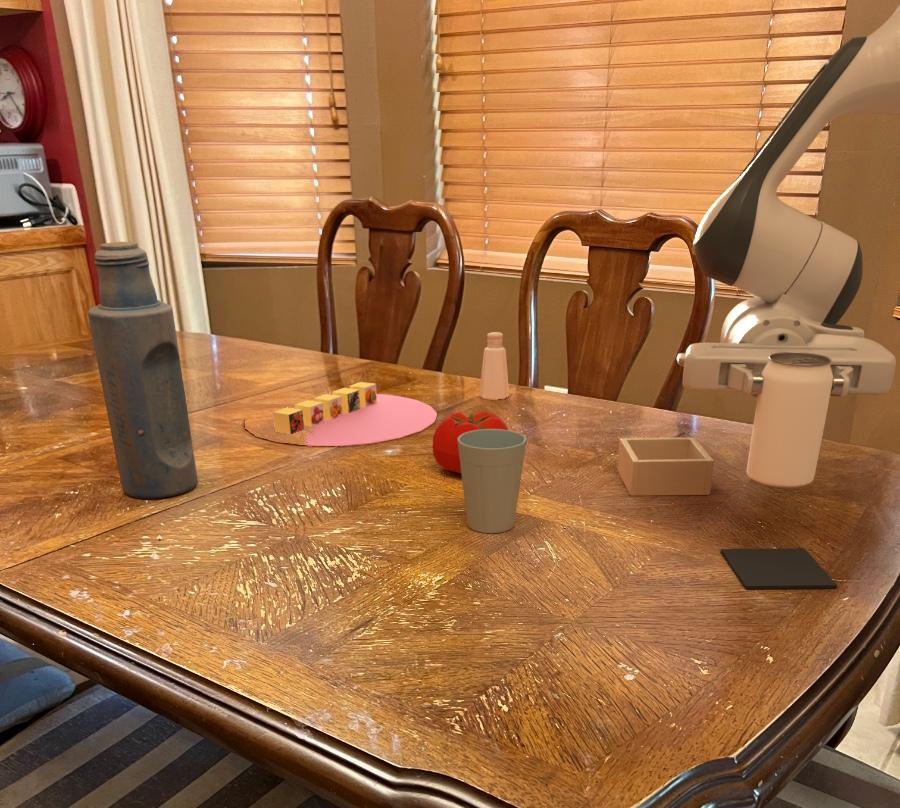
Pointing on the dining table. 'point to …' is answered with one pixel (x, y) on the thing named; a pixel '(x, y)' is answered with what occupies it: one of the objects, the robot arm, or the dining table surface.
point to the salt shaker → (494, 369)
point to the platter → (355, 417)
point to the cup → (491, 477)
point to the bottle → (141, 376)
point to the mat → (777, 569)
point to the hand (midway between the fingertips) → (797, 387)
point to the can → (789, 420)
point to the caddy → (664, 466)
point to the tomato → (453, 428)
